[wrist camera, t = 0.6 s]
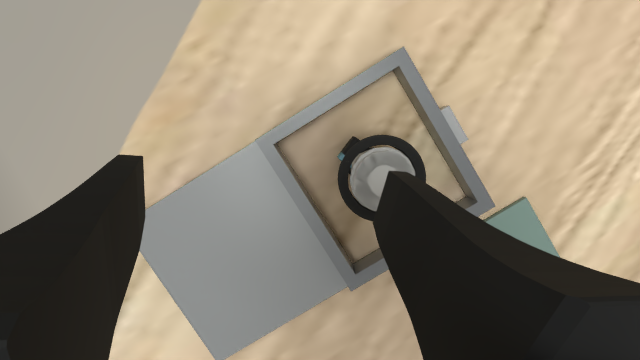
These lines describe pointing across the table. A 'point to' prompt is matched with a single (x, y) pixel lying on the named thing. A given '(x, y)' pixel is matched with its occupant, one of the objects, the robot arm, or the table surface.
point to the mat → (522, 225)
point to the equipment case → (276, 227)
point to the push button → (374, 170)
